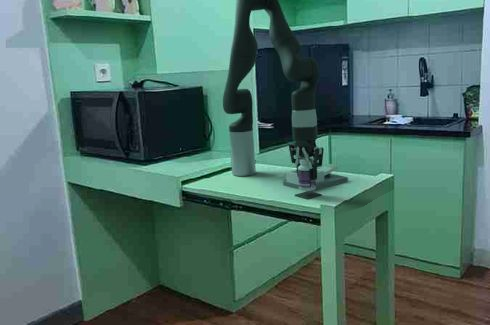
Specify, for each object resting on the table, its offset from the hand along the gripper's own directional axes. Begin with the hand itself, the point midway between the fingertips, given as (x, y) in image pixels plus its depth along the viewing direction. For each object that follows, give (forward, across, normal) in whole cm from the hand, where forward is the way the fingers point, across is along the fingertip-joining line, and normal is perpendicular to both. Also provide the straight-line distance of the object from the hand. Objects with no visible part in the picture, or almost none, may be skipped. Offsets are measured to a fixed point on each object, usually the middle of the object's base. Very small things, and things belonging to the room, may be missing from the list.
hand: (307, 178), depth 139 cm
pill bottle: (+4, 0, 0) cm, 4 cm away
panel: (+6, -10, +12) cm, 17 cm away
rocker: (+2, -10, +17) cm, 20 cm away
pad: (+6, 0, 0) cm, 6 cm away
